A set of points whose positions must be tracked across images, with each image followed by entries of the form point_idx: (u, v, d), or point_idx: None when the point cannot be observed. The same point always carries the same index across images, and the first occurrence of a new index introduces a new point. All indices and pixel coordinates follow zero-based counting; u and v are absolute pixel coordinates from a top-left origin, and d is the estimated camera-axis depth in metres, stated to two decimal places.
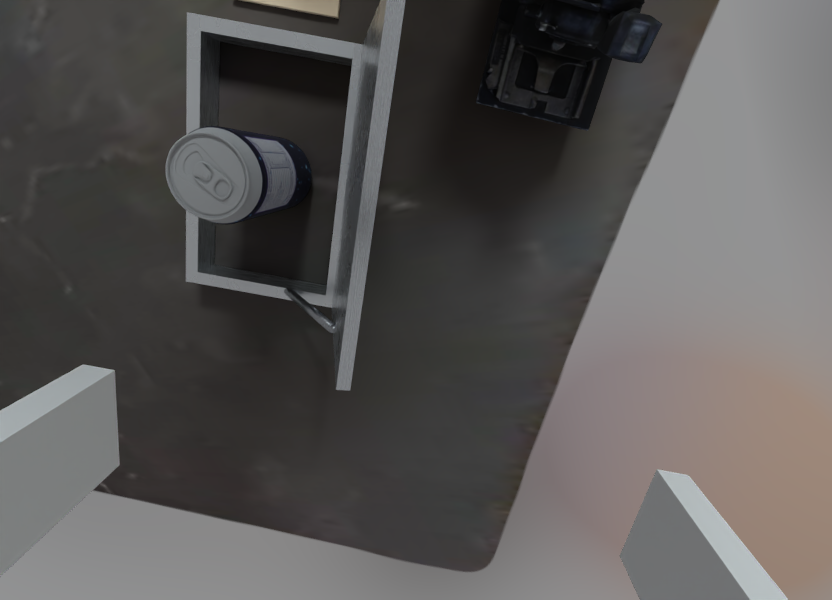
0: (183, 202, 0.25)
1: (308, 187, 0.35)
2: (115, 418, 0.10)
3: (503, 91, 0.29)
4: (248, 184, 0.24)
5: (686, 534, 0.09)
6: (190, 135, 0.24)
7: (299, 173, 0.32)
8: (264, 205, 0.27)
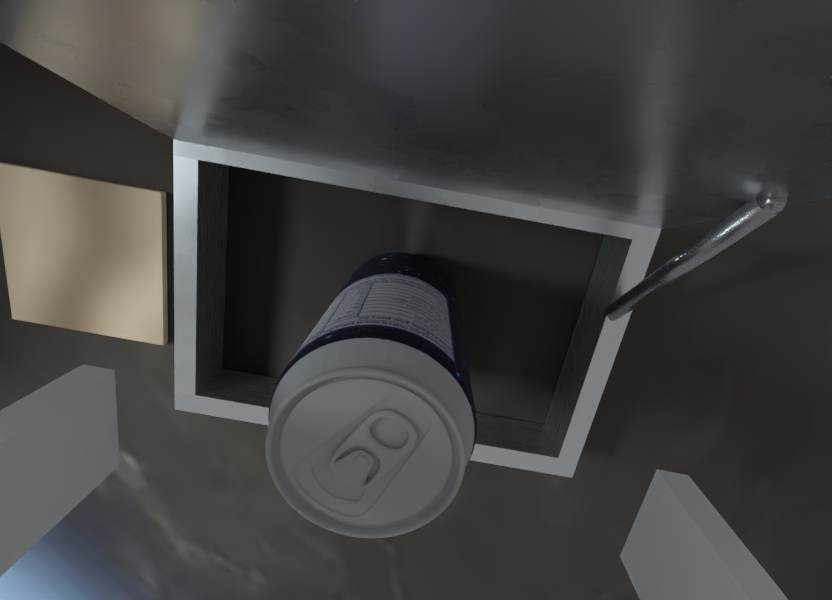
0: (423, 513, 0.11)
1: (420, 259, 0.20)
2: (115, 418, 0.10)
3: None
4: (378, 373, 0.10)
5: (686, 534, 0.09)
6: (276, 478, 0.11)
7: (391, 267, 0.17)
8: (438, 339, 0.12)
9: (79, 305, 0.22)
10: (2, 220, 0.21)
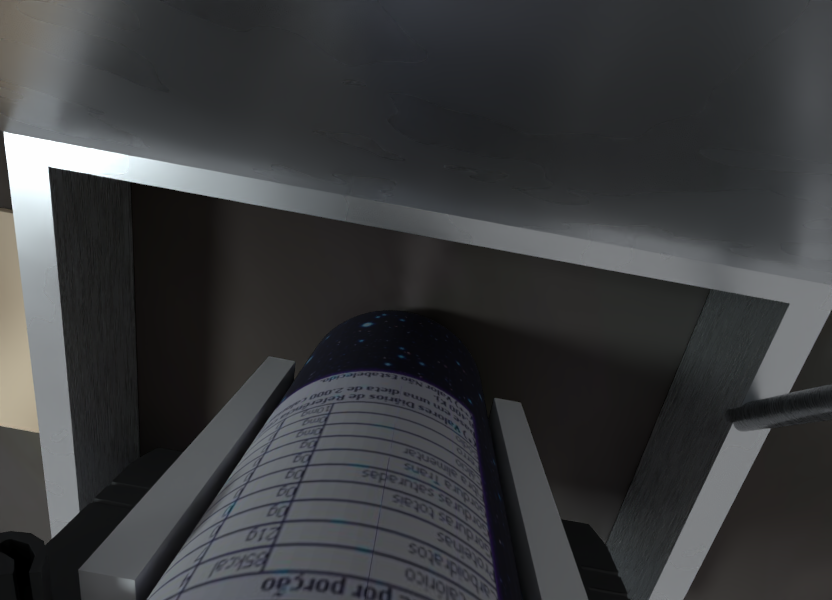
0: None
1: (426, 322, 0.12)
2: None
3: None
4: None
5: (498, 442, 0.10)
6: None
7: (374, 352, 0.10)
8: None
9: None
10: None
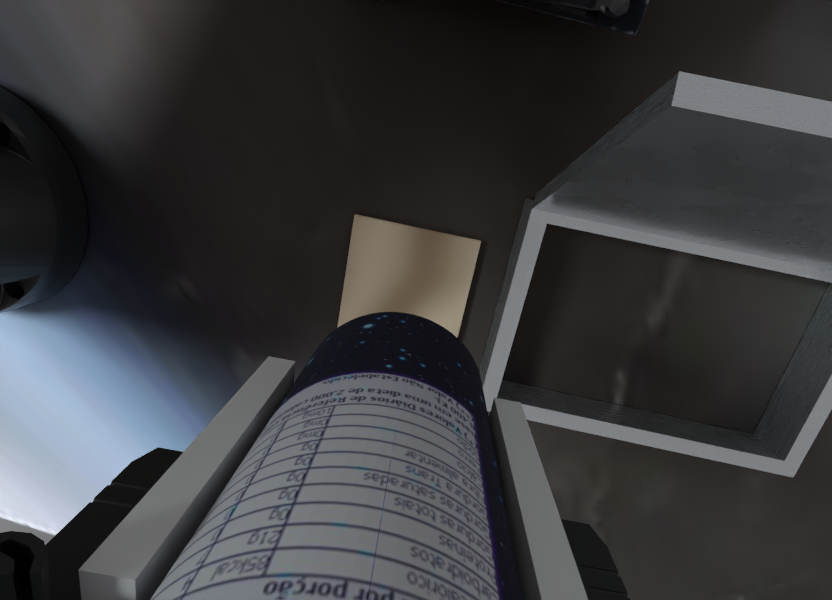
0: None
1: (426, 323, 0.12)
2: None
3: None
4: None
5: (498, 442, 0.10)
6: None
7: (376, 354, 0.10)
8: None
9: None
10: (348, 258, 0.27)
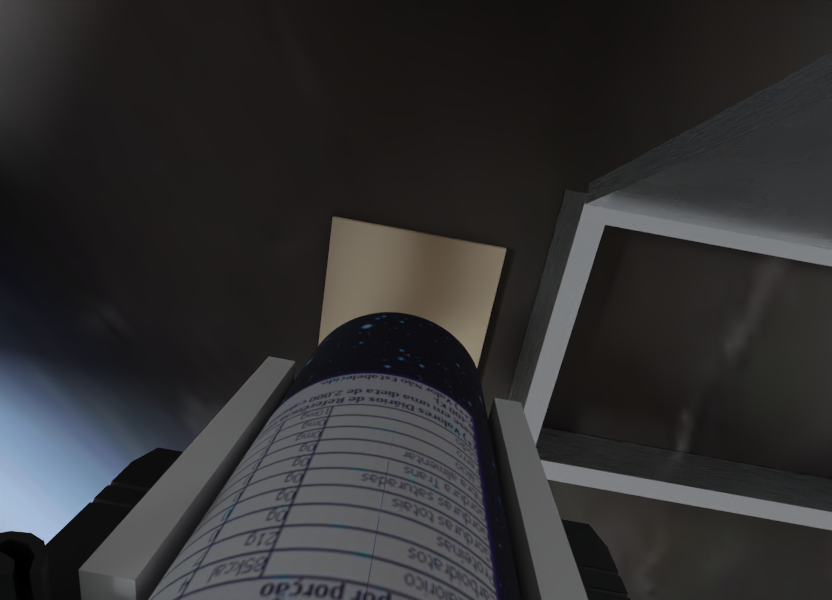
0: None
1: (425, 324, 0.12)
2: None
3: None
4: None
5: (498, 442, 0.10)
6: None
7: (374, 354, 0.10)
8: None
9: None
10: (326, 275, 0.20)
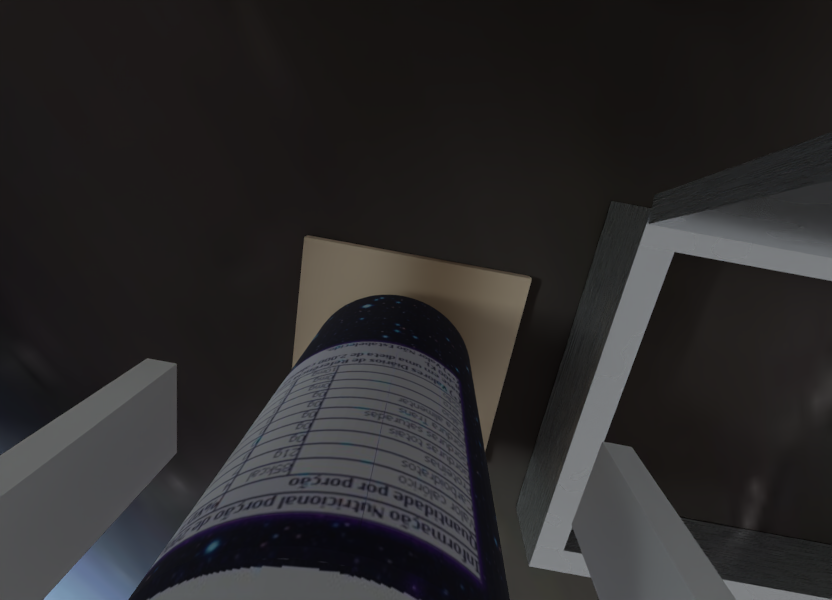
0: None
1: (419, 304, 0.14)
2: (175, 408, 0.11)
3: None
4: None
5: (621, 498, 0.09)
6: None
7: (374, 327, 0.11)
8: (447, 522, 0.06)
9: None
10: (298, 311, 0.16)
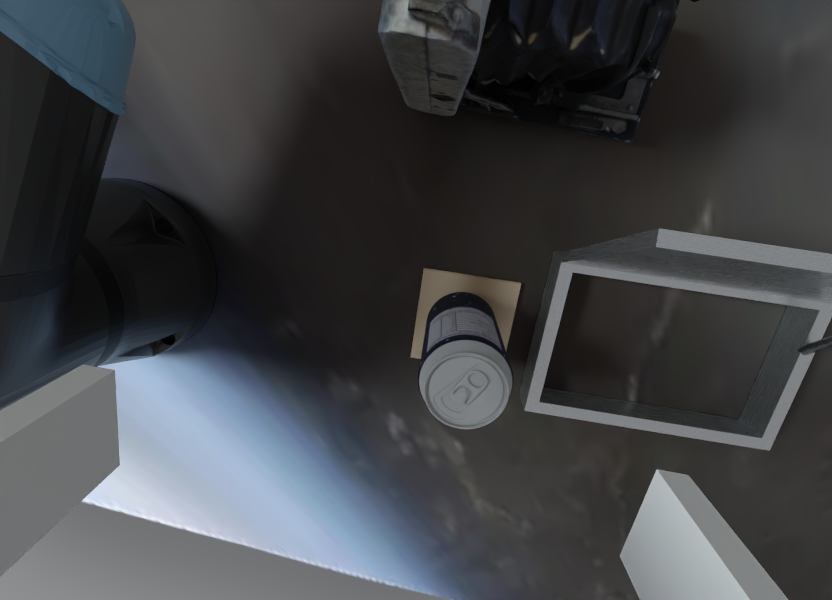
0: (490, 417, 0.25)
1: (474, 295, 0.33)
2: (115, 418, 0.10)
3: (627, 112, 0.27)
4: (473, 354, 0.23)
5: (686, 534, 0.09)
6: (426, 401, 0.25)
7: (461, 303, 0.31)
8: (494, 340, 0.26)
9: None
10: None
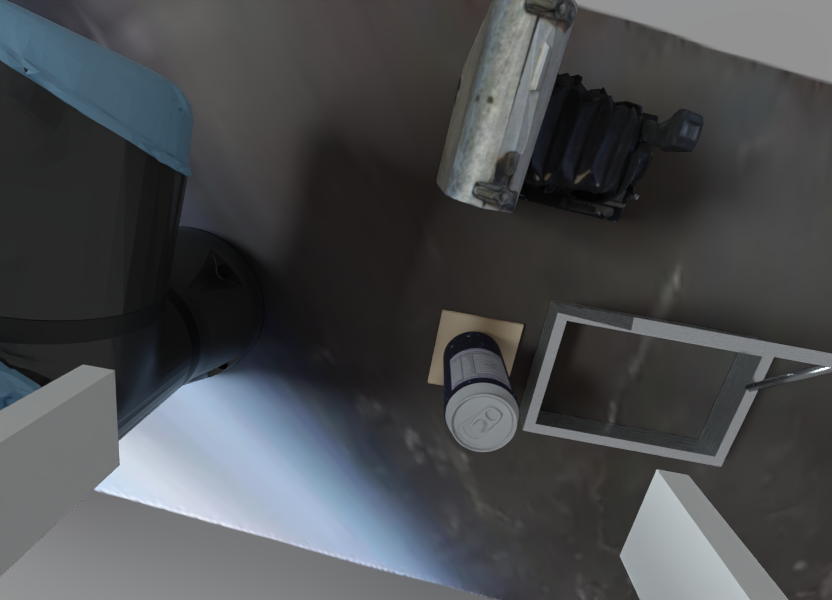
0: (501, 443, 0.32)
1: (485, 335, 0.40)
2: (115, 418, 0.10)
3: (614, 200, 0.34)
4: (490, 395, 0.30)
5: (686, 534, 0.09)
6: (452, 430, 0.31)
7: (475, 343, 0.38)
8: (505, 381, 0.32)
9: None
10: (437, 336, 0.42)
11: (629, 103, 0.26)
